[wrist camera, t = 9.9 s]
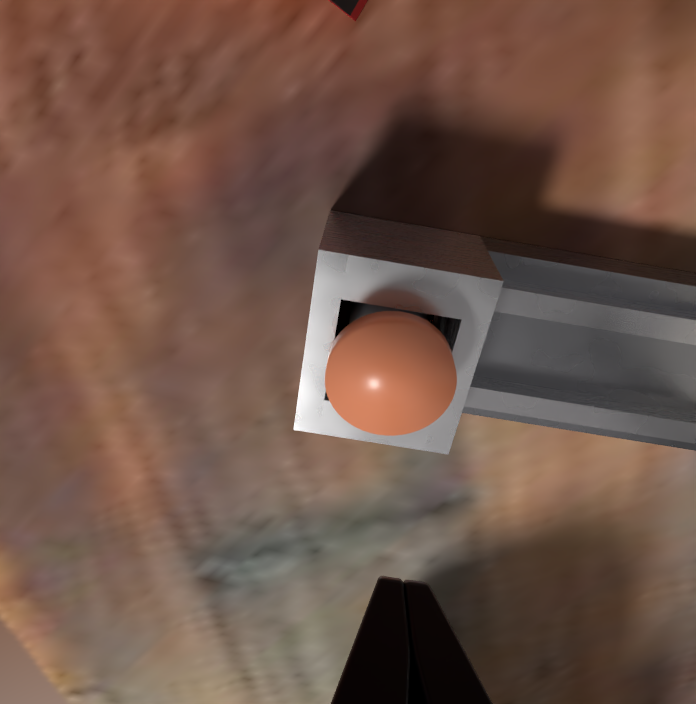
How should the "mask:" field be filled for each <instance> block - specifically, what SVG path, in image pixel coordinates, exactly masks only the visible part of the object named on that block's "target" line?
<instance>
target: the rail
mask: <svg viewBox="0 0 696 704" xmlns="http://www.w3.org/2000/svg"><path fill="white" fill-rule="evenodd" d="M341 299H342V300H348V301H354V302H360V303H366V304H372V305H378V306H384V307H390V308H396V309H402V310H408V311H414V312H420V313H426V314H432V315H434V318H433V322H432V324H433V325H434V326H435V327H436V328H437V329H438V330H439V331H440V332H441V333H442V334H443V335H444V337H445V338H446V340H447V342H448V344H449V346H450V348H451V351H452V355H453V360H454V364H455V368H456V374H457V386H456V391H455V394H454V397H453V400H452V402H451V403H450V405H449V407H448V408H447V409H446V411H445V412H444V413H443V414H442V415H441V416H440V417H439V418H438V419H437V420H436V421H434V422H433V423H432V424H430V425H428V426H427V427H425V428H423V429H421V430H418V431H415V432H412V433H409V434H404V435H396V436H385V435H377V434H372V433H369V432H366V431H363V430H360V429H358V428H356V427H354V426H353V425H351V424H349V423H348V422H347V421H345V420H344V419H343V418H342V417H341V416H340V415H339V414H338V413H337V412H336V410H335V409H334V408H333V406H332V404H331V403H330V401H329V398H328V396H327V393H326V388H325V371H326V365H327V359H328V355H329V351H330V348H331V346H332V344H333V342H334V338H335V332H336V326H337V320H338V314H339V308H340V302H341ZM461 413H467V414H473V415H479V416H485V417H491V418H497V419H504V420H510V421H516V422H522V423H528V424H535V425H541V426H547V427H553V428H559V429H566V430H572V431H578V432H584V433H590V434H596V435H603V436H609V437H615V438H621V439H627V440H634V441H640V442H646V443H652V444H658V445H665V446H671V447H677V448H683V449H689V450H696V273H691V272H685V271H679V270H674V269H668V268H662V267H656V266H650V265H645V264H639V263H633V262H627V261H622V260H616V259H610V258H604V257H598V256H593V255H587V254H581V253H575V252H569V251H564V250H558V249H552V248H546V247H541V246H535V245H529V244H523V243H517V242H512V241H506V240H500V239H494V238H488V237H483V236H477V235H471V234H465V233H460V232H454V231H448V230H442V229H436V228H431V227H425V226H419V225H413V224H407V223H402V222H396V221H390V220H384V219H379V218H373V217H367V216H361V215H355V214H350V213H344V212H338V211H332V210H330V213H329V216H328V220H327V223H326V226H325V230H324V233H323V236H322V240H321V243H320V247H319V250H318V257H317V265H316V272H315V279H314V286H313V293H312V301H311V308H310V315H309V322H308V329H307V336H306V344H305V351H304V358H303V365H302V372H301V380H300V387H299V394H298V401H297V408H296V416H295V423H294V430H298V431H305V432H311V433H317V434H324V435H330V436H336V437H342V438H349V439H355V440H361V441H368V442H374V443H380V444H387V445H393V446H399V447H405V448H412V449H418V450H424V451H431V452H437V453H443V454H449V451H450V448H451V445H452V441H453V438H454V435H455V432H456V429H457V426H458V423H459V420H460V416H461Z"/></svg>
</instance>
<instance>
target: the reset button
mask: <svg viewBox="0 0 696 704" xmlns="http://www.w3.org/2000/svg"><path fill="white" fill-rule="evenodd" d="M456 386H457V374H456V368H455V364H454V360H453V355H452V351H451V348H450V346H449V344H448V342H447V340H446V338H445V337H444V335H443V334H442V333H441V332H440V331H439V330H438V329H437V328H436V327H435V326H434V325H433V324H431V323H430V322H428V317H427V314H426V313H420V312H414V311H408V310H402V309H396V308H390V307H384V306H378V305H372V304H366V303H360V302H354V301H352V303H351V310H350V320H349V325H347V326H346V327H345V328H344V329H343V330H342V331H341V332H340V333H339V334H338V336H337V337H336V338H335V340H334V342H333V344H332V346H331V348H330V351H329V355H328V359H327V365H326V371H325V388H326V393H327V396H328V398H329V401H330V403H331V404H332V406H333V408H334V409H335V410H336V412H337V413H338V414H339V415H340V416H341V417H342V418H343V419H344V420H345V421H347V422H348V423H349V424H351V425H353V426H354V427H356V428H358V429H360V430H363V431H366V432H369V433H372V434H377V435H385V436H396V435H404V434H409V433H412V432H415V431H418V430H421V429H423V428H425V427H427V426H428V425H430V424H432V423H433V422H434V421H436V420H437V419H438V418H439V417H440V416H441V415H442V414H443V413H444V412H445V411H446V409H447V408H448V407H449V405H450V403H451V402H452V400H453V397H454V394H455V391H456Z"/></svg>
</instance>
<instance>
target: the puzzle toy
mask: <svg viewBox="0 0 696 704" xmlns="http://www.w3.org/2000/svg"><path fill="white" fill-rule="evenodd" d="M329 1H330V2H332V3H333V4H334V5H335V6H337V7H338V8H339V9H340V10H342V11H343V12H344V13H346V14H347V15H348V16H349V17H351V18H352V19H353V20H354V21H356V19H357V18H358V16H359V14H360V13H361V11H362V9H363V7H364V6H365V4H366V2H367V1H368V0H329Z"/></svg>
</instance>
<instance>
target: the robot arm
mask: <svg viewBox="0 0 696 704" xmlns="http://www.w3.org/2000/svg"><path fill="white" fill-rule="evenodd" d="M331 704H493V703H492V702H491V700H490V698H489V696H488V694H487V692H486V690H485V688H484V687H483V685H482V683H481V681H480V679H479V677H478V675H477V673H476V672H475V670H474V668H473V666H472V664H471V662H470V660H469V659H468V657H467V655H466V653H465V651H464V649H463V647H462V645H461V644H460V642H459V640H458V638H457V636H456V634H455V632H454V630H453V629H452V627H451V625H450V623H449V621H448V619H447V617H446V616H445V614H444V612H443V610H442V608H441V606H440V604H439V602H438V601H437V599H436V597H435V595H434V593H433V591H432V589H431V588H430V586H429V585H428V584H427V583H425V582H420V581H413V580H405V581H404V582H403V581H402V580H401V579H399V578H392V577H386V576H381V577H379V578H378V580H377V583H376V586H375V588H374V591H373V594H372V596H371V599H370V601H369V604H368V607H367V609H366V612H365V615H364V617H363V620H362V623H361V625H360V628H359V631H358V633H357V636H356V638H355V641H354V644H353V646H352V649H351V652H350V654H349V657H348V660H347V662H346V665H345V668H344V670H343V673H342V675H341V678H340V681H339V683H338V686H337V689H336V691H335V694H334V697H333V699H332V702H331Z"/></svg>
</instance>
